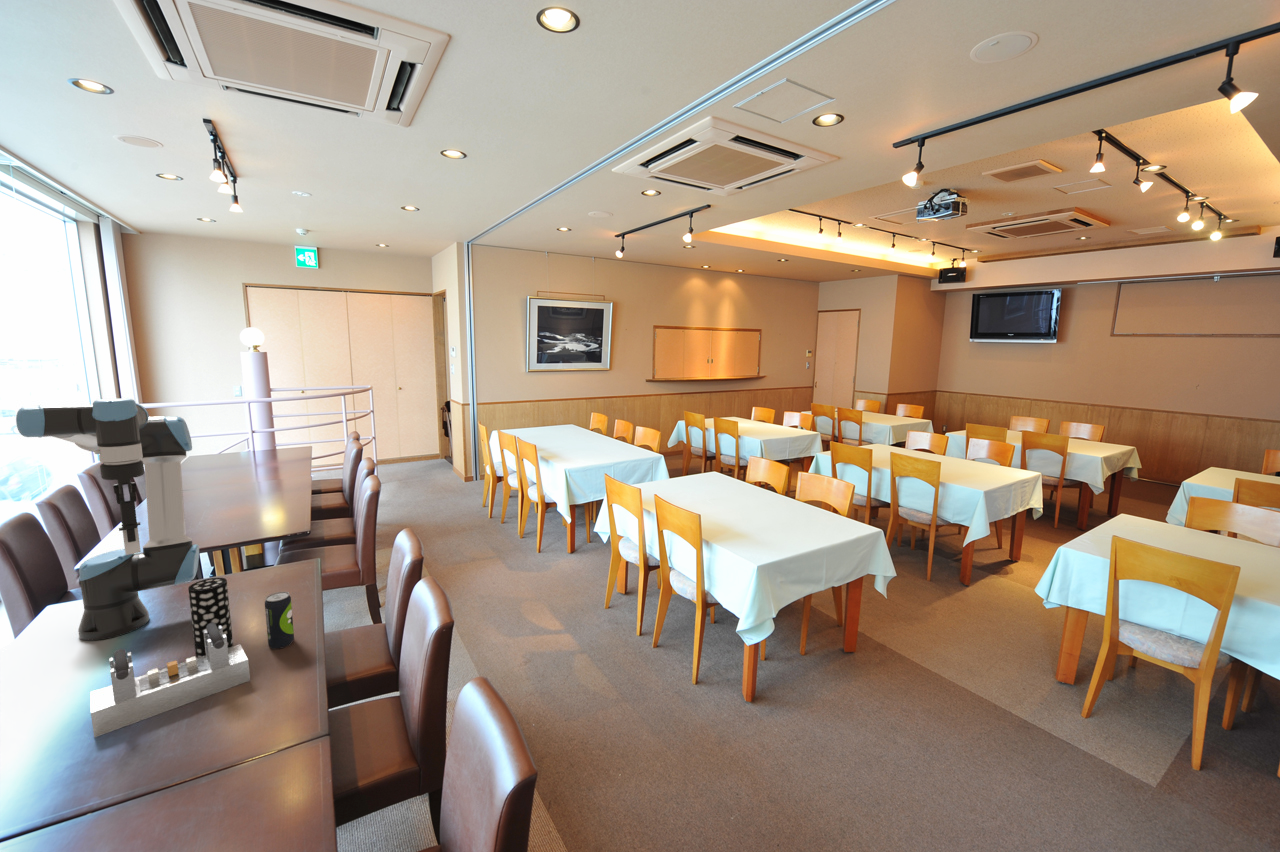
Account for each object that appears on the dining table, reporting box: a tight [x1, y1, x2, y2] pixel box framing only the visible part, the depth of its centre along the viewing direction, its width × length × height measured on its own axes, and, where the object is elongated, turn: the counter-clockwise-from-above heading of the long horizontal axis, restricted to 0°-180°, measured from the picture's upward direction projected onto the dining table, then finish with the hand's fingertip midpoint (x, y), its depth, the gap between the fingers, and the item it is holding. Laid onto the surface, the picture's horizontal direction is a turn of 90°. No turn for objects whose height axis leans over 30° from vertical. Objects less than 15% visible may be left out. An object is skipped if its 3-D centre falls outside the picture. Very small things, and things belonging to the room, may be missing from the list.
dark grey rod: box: [206, 623, 224, 649], centre depth 131 cm, size 13×2×2 cm, turn 47°
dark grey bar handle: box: [113, 648, 129, 680], centre depth 119 cm, size 13×2×2 cm, turn 47°
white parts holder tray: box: [89, 626, 251, 738], centre depth 126 cm, size 10×28×13 cm, turn 137°
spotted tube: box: [188, 577, 234, 658], centre depth 146 cm, size 8×8×20 cm
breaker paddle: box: [166, 659, 179, 676], centre depth 126 cm, size 2×2×3 cm
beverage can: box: [264, 591, 295, 650], centre depth 149 cm, size 6×6×15 cm
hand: (133, 552), depth 129 cm, fingers closed
